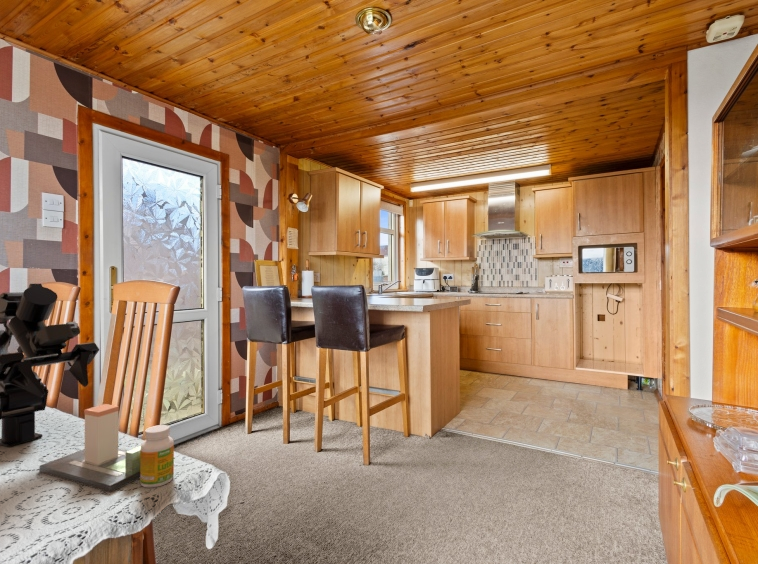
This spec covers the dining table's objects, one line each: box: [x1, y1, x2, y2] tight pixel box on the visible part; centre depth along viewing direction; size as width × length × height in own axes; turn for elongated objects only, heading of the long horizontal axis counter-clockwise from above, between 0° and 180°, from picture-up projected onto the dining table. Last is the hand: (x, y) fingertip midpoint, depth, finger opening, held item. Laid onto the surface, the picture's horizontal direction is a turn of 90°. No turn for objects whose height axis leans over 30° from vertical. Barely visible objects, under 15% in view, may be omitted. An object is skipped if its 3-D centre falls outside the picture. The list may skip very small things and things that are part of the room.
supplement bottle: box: [139, 424, 175, 488], centre depth 73 cm, size 5×5×10 cm
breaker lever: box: [84, 403, 120, 464], centre depth 80 cm, size 4×4×10 cm
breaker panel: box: [39, 445, 141, 493], centre depth 78 cm, size 20×11×5 cm, turn 69°
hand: (65, 390), depth 84 cm, fingers open, 8 cm apart
